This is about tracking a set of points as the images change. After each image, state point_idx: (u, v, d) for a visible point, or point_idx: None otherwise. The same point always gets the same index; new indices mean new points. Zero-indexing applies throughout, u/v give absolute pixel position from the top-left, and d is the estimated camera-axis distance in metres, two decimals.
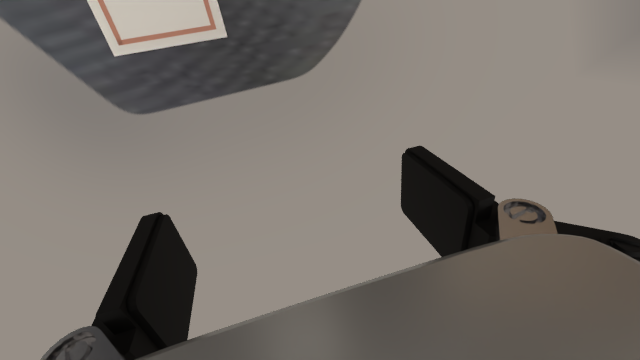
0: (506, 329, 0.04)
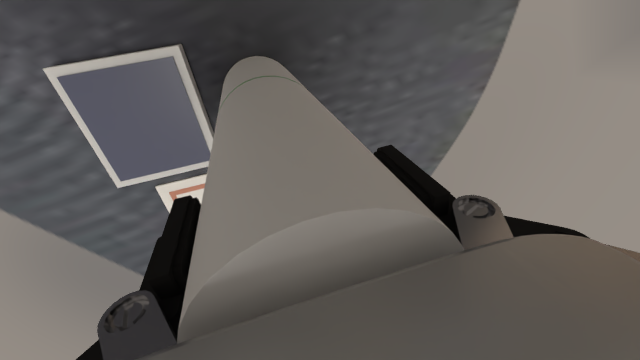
0: (506, 329, 0.04)
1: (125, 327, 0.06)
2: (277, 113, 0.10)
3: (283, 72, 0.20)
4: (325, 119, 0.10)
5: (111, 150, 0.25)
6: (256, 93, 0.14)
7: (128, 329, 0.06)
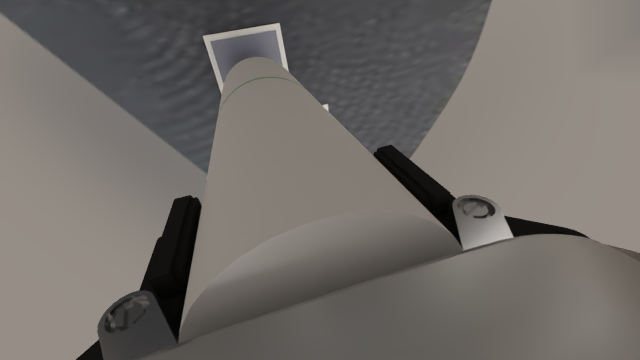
0: (506, 329, 0.04)
1: (125, 327, 0.06)
2: (277, 115, 0.10)
3: (283, 73, 0.20)
4: (325, 121, 0.10)
5: None
6: (256, 94, 0.14)
7: (128, 329, 0.06)
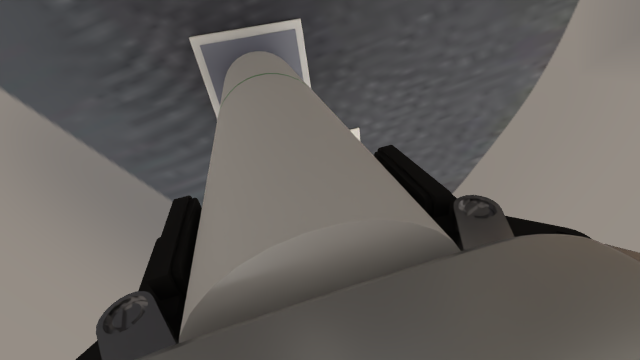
0: (506, 329, 0.04)
1: (124, 328, 0.06)
2: (278, 115, 0.10)
3: (285, 69, 0.19)
4: (327, 121, 0.10)
5: None
6: (258, 92, 0.13)
7: (127, 330, 0.06)
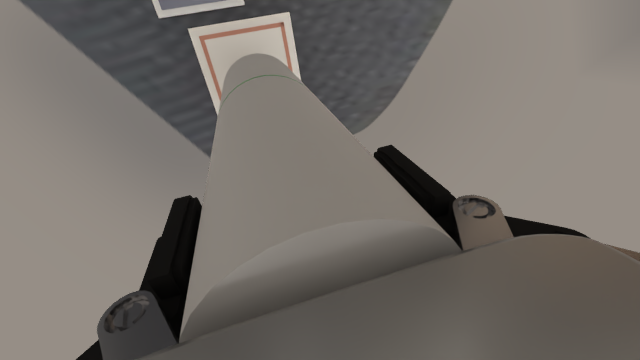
0: (506, 329, 0.04)
1: (125, 327, 0.06)
2: (278, 116, 0.10)
3: (284, 71, 0.19)
4: (326, 122, 0.10)
5: None
6: (257, 93, 0.13)
7: (128, 329, 0.06)
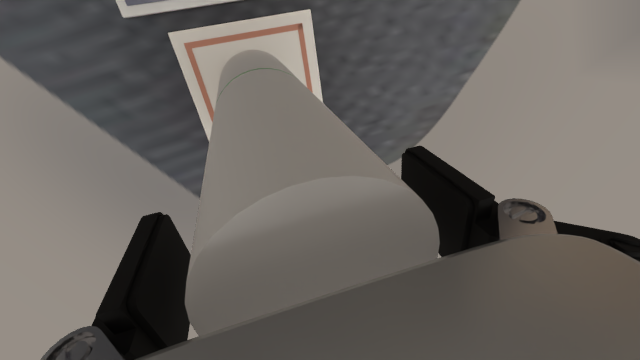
0: (506, 329, 0.04)
1: None
2: (270, 101, 0.11)
3: (278, 65, 0.20)
4: (315, 107, 0.11)
5: None
6: (251, 84, 0.14)
7: None
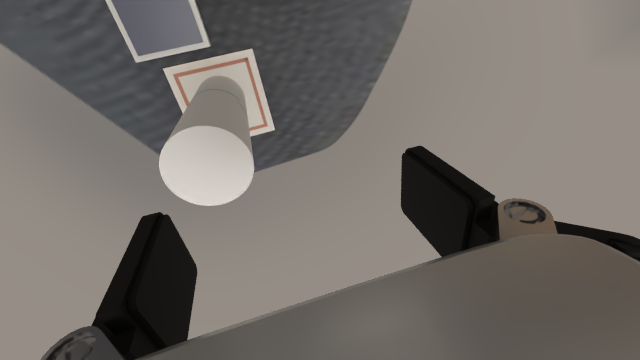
0: (506, 329, 0.04)
1: None
2: (200, 106, 0.26)
3: (223, 86, 0.35)
4: (219, 107, 0.26)
5: (131, 28, 0.35)
6: (199, 98, 0.29)
7: None
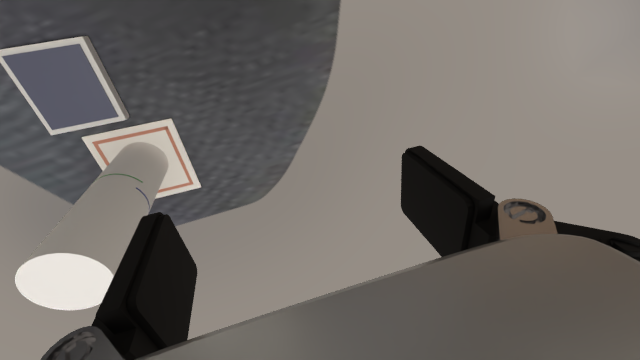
0: (506, 329, 0.04)
1: None
2: (78, 210, 0.28)
3: (130, 165, 0.38)
4: (97, 212, 0.28)
5: (43, 107, 0.37)
6: (89, 192, 0.32)
7: None
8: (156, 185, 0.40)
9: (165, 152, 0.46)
